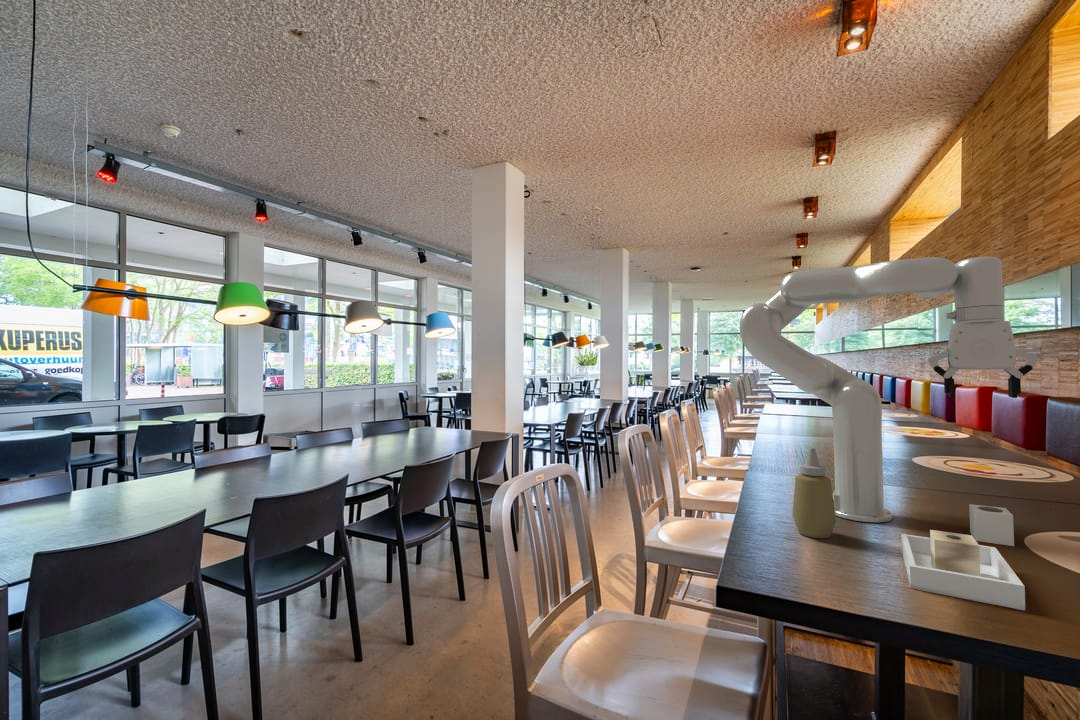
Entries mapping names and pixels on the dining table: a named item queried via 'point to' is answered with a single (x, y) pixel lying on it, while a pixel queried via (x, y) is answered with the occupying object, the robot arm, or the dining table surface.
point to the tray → (963, 576)
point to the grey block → (991, 524)
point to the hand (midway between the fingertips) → (981, 397)
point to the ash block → (955, 552)
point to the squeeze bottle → (813, 499)
